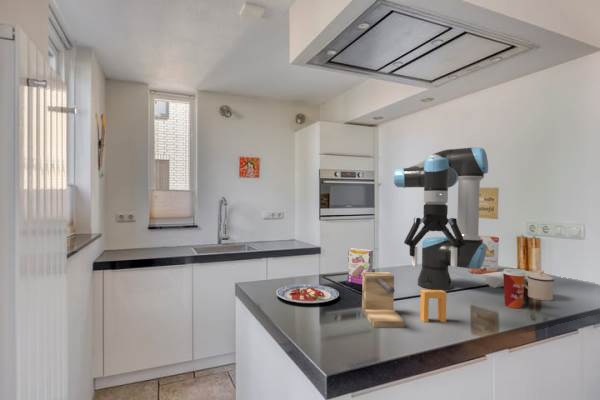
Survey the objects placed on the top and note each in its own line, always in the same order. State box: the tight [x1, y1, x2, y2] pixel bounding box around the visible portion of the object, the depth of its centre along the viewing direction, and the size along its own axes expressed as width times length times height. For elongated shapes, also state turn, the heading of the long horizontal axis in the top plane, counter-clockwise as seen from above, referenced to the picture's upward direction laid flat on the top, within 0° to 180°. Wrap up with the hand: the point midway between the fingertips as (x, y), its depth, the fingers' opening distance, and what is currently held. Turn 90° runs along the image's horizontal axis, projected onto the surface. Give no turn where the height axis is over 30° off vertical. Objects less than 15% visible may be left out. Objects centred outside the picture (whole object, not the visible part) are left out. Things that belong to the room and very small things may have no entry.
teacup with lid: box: [524, 269, 555, 302], centre depth 141 cm, size 12×9×12 cm
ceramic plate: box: [276, 283, 340, 305], centre depth 136 cm, size 26×26×3 cm
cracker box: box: [467, 235, 500, 275], centre depth 186 cm, size 14×6×21 cm, turn 81°
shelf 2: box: [481, 268, 536, 289], centre depth 162 cm, size 12×30×5 cm, turn 116°
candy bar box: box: [347, 247, 374, 286], centre depth 159 cm, size 11×5×16 cm, turn 58°
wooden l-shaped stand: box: [361, 271, 406, 329], centre depth 112 cm, size 17×10×14 cm, turn 3°
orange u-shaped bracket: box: [419, 289, 447, 323], centre depth 111 cm, size 3×8×10 cm, turn 93°
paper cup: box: [501, 268, 526, 310], centre depth 128 cm, size 8×8×14 cm
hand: (434, 266), depth 111 cm, fingers open, 13 cm apart
